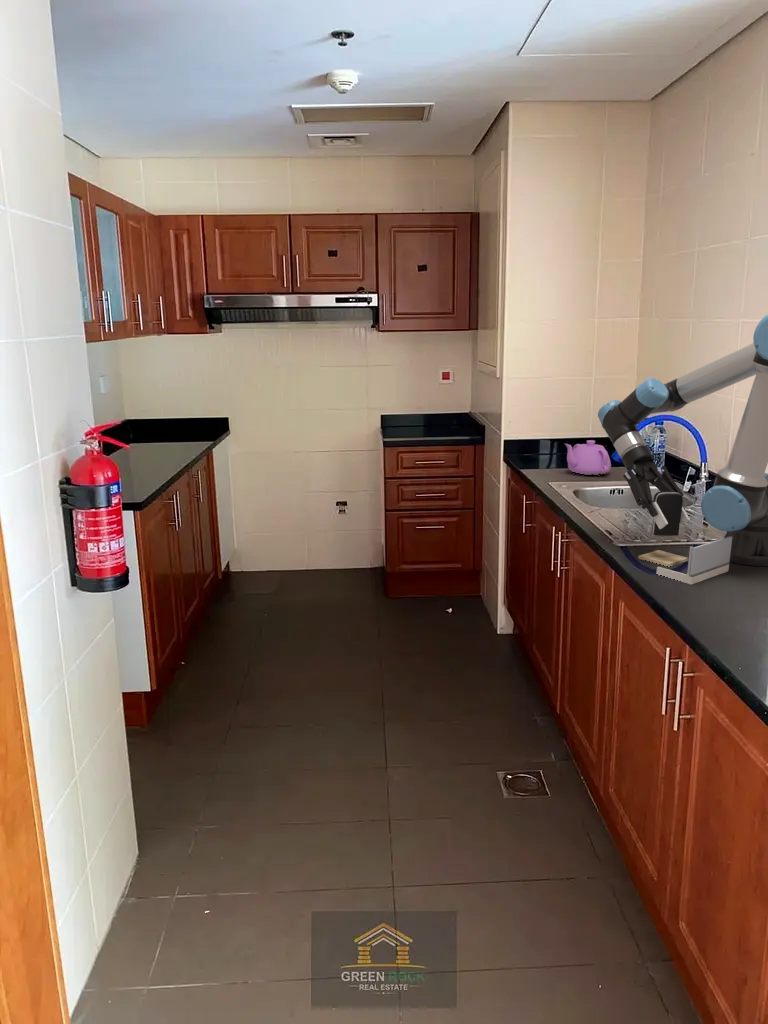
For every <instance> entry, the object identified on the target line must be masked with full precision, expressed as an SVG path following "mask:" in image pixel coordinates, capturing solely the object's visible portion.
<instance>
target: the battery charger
mask: <svg viewBox="0 0 768 1024" xmlns="http://www.w3.org/2000/svg"><path fill="white" fill-rule="evenodd" d="M652 500H653V502H652V503H654V502H656V503H657V504H658V506H659V508H660V510H661V511H662V513H663V515H664V517H665V519H666V520H667V522H668V524H667V525H666V526H665V527H663V528H662V529H659V527H658V526H657V524H656V522H655V520H654V518H653V517H652V519H653V520H652V525H651V526H652V527H651V534H652V536H656V537H657V536H659V537H663V536H664V537H670V536H671V537H672V536H673V537H674V536H680V535H679V532H680V525H681V524H680V519H681V513H682V505H683V503H684V502H683V501H684V500H683V496H681V494H679V493H676V492H660V491H658V492H657V491H656V493H655V494H654V495H653V497H652Z"/></svg>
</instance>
